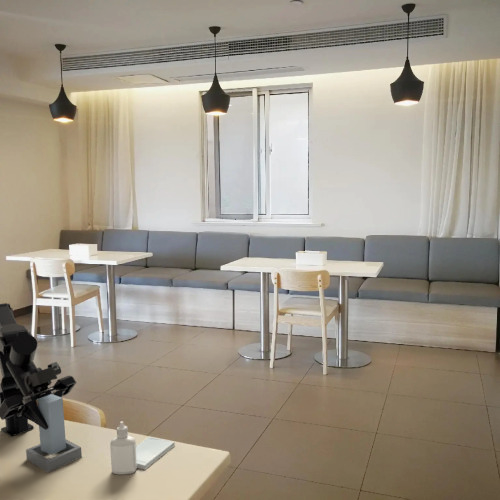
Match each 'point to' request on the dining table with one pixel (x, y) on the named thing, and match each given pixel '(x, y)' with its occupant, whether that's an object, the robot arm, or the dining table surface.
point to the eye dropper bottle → (123, 452)
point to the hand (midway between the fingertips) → (55, 425)
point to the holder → (48, 465)
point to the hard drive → (151, 451)
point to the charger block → (52, 424)
